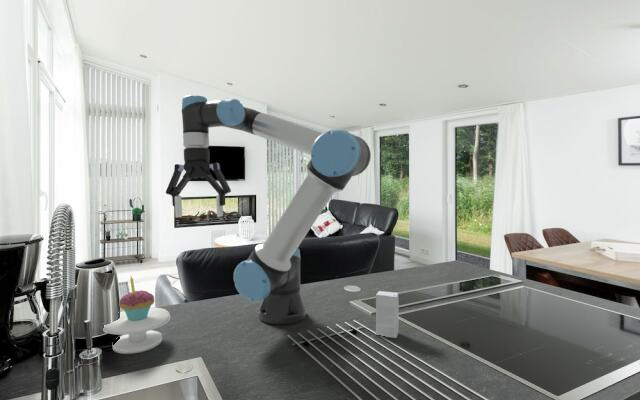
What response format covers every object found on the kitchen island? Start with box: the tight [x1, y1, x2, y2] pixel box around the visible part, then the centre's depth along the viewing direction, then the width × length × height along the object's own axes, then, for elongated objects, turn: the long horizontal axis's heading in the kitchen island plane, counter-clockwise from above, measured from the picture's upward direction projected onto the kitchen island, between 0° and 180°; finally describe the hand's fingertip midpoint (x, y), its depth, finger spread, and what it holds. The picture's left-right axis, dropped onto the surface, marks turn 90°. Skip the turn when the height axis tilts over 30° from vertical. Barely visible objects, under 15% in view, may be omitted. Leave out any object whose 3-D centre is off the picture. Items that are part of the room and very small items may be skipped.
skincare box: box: [375, 290, 400, 339], centre depth 107 cm, size 6×4×12 cm
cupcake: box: [119, 276, 155, 321], centre depth 100 cm, size 9×8×12 cm
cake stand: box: [102, 306, 171, 355], centre depth 101 cm, size 17×17×7 cm
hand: (199, 216), depth 115 cm, fingers open, 13 cm apart
